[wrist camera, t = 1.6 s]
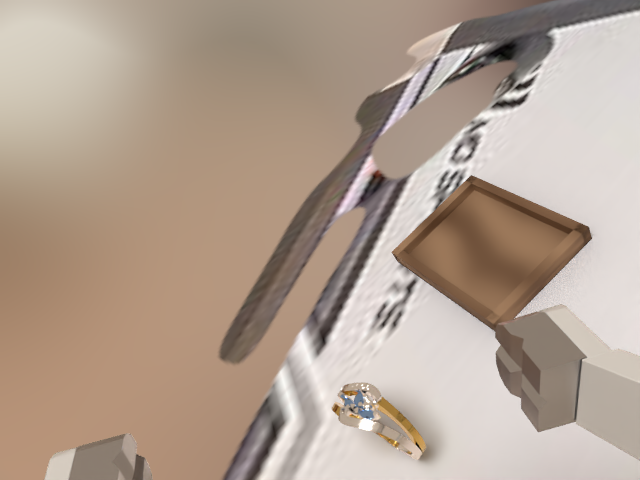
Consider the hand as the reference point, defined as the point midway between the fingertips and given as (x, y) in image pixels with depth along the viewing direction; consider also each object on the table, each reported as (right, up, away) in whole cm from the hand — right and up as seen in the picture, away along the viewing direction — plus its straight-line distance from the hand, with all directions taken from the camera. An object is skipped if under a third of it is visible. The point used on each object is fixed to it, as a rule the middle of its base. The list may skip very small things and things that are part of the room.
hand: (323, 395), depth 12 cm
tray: (+15, +2, +36) cm, 39 cm away
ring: (+6, -12, +29) cm, 32 cm away
